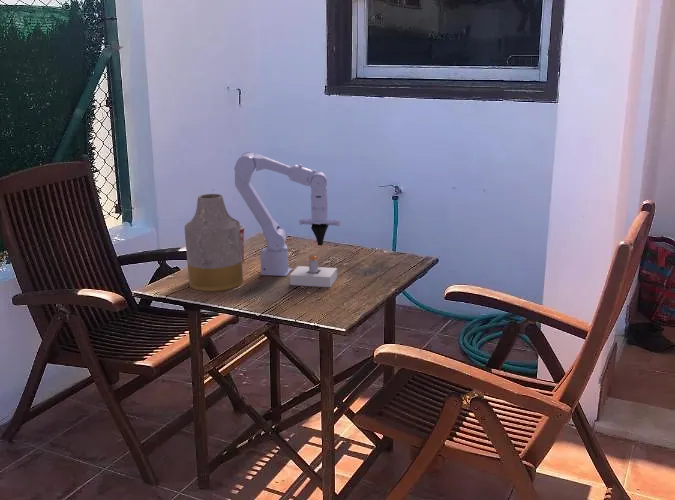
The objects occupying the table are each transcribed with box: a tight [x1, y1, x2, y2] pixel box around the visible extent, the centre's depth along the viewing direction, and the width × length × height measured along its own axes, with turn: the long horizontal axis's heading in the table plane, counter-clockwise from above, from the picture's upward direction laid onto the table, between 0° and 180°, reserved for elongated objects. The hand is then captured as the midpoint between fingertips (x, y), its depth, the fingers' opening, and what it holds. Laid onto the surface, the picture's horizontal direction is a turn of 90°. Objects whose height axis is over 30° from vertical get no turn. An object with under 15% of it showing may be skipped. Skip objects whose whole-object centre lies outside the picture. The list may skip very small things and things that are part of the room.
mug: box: [240, 224, 246, 264], centre depth 272 cm, size 13×9×14 cm
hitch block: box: [289, 265, 338, 288], centre depth 250 cm, size 14×10×4 cm
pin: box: [308, 254, 319, 274], centre depth 249 cm, size 3×3×9 cm
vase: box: [184, 193, 244, 293], centre depth 247 cm, size 18×18×30 cm
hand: (320, 244), depth 256 cm, fingers closed
